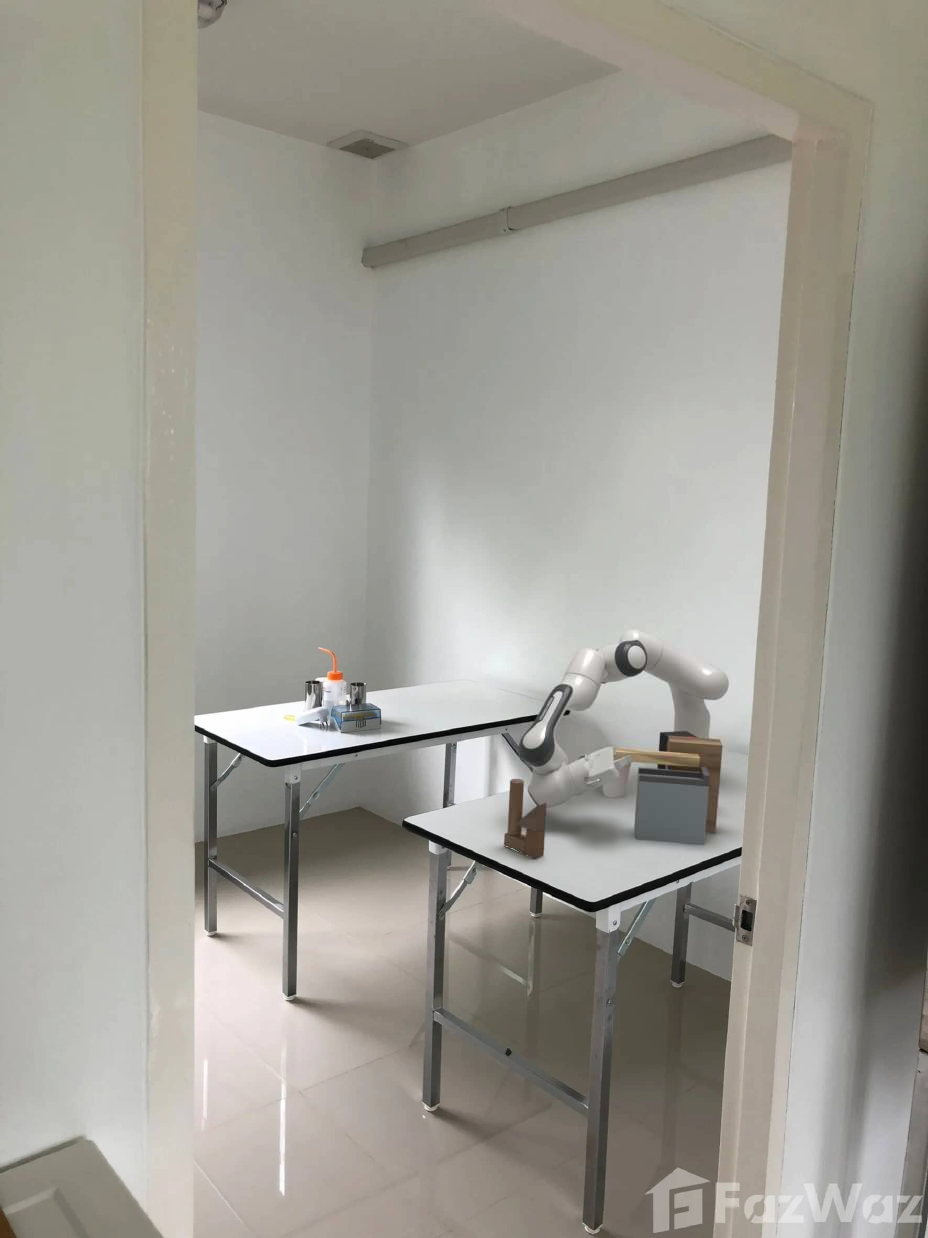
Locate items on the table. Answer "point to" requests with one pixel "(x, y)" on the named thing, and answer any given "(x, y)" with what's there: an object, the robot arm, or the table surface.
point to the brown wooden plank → (708, 758)
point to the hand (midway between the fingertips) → (631, 754)
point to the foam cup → (618, 783)
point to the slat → (659, 757)
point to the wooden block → (525, 823)
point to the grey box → (671, 805)
